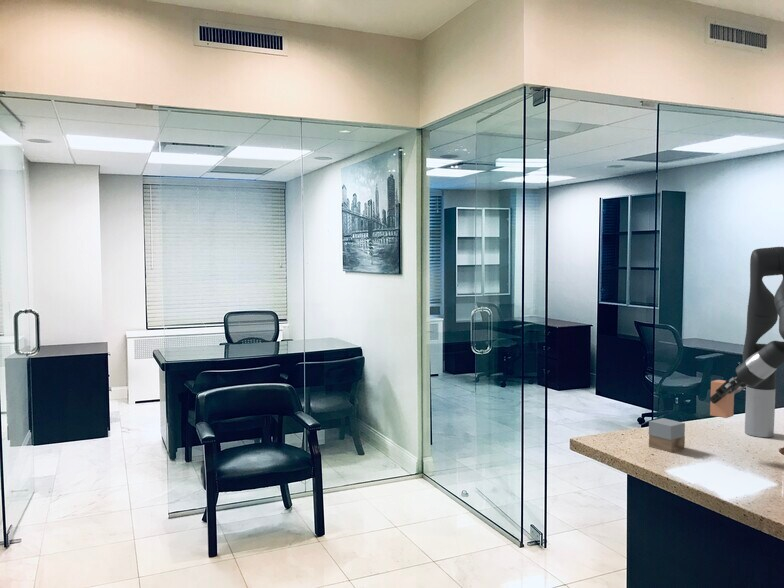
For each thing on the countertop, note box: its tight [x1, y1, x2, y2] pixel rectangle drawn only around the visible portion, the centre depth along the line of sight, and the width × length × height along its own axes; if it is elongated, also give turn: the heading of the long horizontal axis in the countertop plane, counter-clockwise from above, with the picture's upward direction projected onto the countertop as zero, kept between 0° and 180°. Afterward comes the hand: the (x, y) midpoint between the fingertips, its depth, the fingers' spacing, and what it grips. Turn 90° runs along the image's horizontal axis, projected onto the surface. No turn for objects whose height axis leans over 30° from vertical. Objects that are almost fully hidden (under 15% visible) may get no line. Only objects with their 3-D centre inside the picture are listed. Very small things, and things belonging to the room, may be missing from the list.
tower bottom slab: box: [648, 434, 686, 454], centre depth 210 cm, size 8×8×4 cm
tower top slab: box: [648, 417, 686, 440], centre depth 210 cm, size 8×8×4 cm
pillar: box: [709, 379, 735, 419], centre depth 202 cm, size 5×5×11 cm
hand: (716, 400), depth 203 cm, fingers closed on pillar, 5 cm apart
